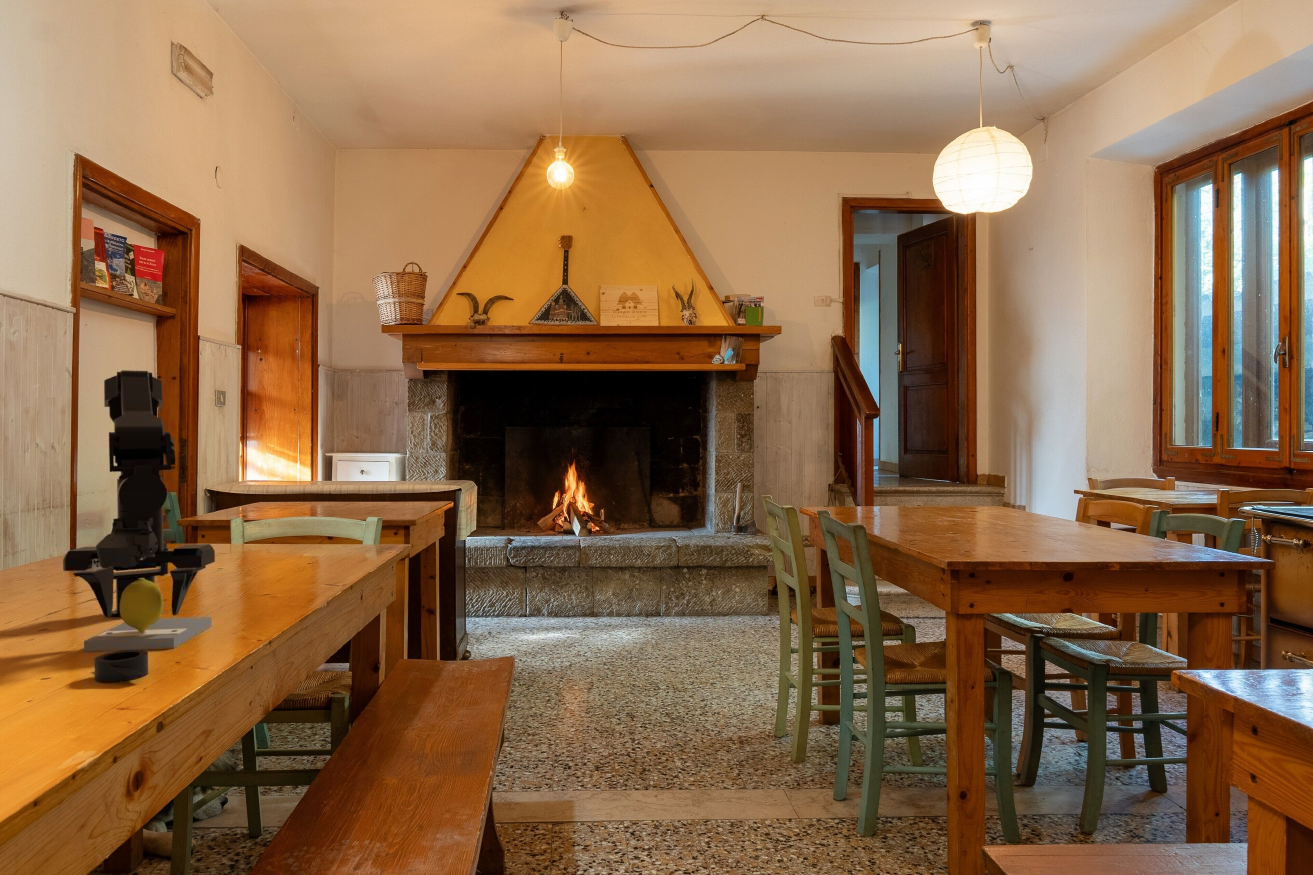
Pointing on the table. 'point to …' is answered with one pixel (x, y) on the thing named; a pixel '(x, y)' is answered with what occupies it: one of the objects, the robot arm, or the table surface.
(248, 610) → the table surface
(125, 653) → the black piece
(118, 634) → the grey flat block
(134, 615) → the lemon
